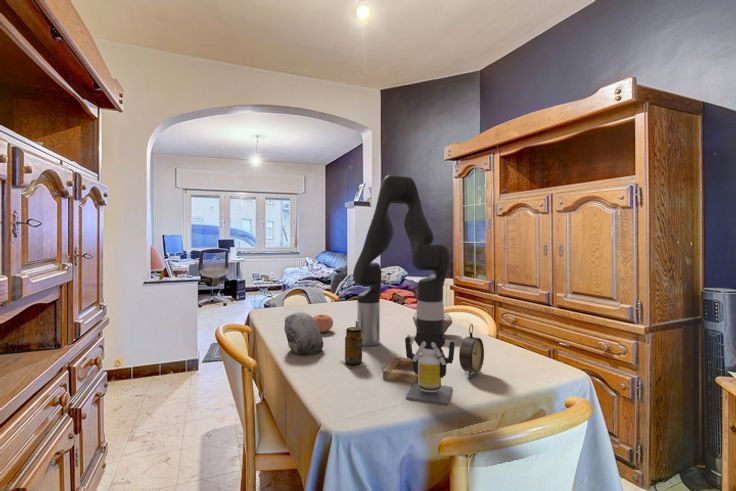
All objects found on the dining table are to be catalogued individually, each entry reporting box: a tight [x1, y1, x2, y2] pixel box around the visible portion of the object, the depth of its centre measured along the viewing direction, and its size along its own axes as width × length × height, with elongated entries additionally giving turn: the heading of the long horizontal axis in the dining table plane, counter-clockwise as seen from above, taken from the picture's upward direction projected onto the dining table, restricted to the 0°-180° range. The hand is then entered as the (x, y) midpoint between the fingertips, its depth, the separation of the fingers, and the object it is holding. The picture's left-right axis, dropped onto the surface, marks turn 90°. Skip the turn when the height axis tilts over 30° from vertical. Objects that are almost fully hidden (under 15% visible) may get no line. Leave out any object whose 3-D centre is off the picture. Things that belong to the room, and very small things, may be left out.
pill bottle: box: [418, 348, 442, 392], centre depth 103 cm, size 6×6×12 cm
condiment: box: [340, 326, 369, 369], centre depth 127 cm, size 7×8×12 cm
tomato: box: [311, 313, 334, 334], centre depth 169 cm, size 11×11×8 cm
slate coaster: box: [405, 382, 453, 406], centre depth 103 cm, size 11×11×1 cm
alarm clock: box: [458, 323, 485, 380], centre depth 117 cm, size 11×5×16 cm, turn 143°
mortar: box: [412, 312, 453, 334], centre depth 162 cm, size 17×17×9 cm
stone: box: [283, 311, 324, 355], centre depth 140 cm, size 12×15×15 cm
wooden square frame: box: [382, 356, 418, 384], centre depth 118 cm, size 13×14×2 cm
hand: (429, 375), depth 103 cm, fingers closed on pill bottle, 6 cm apart
